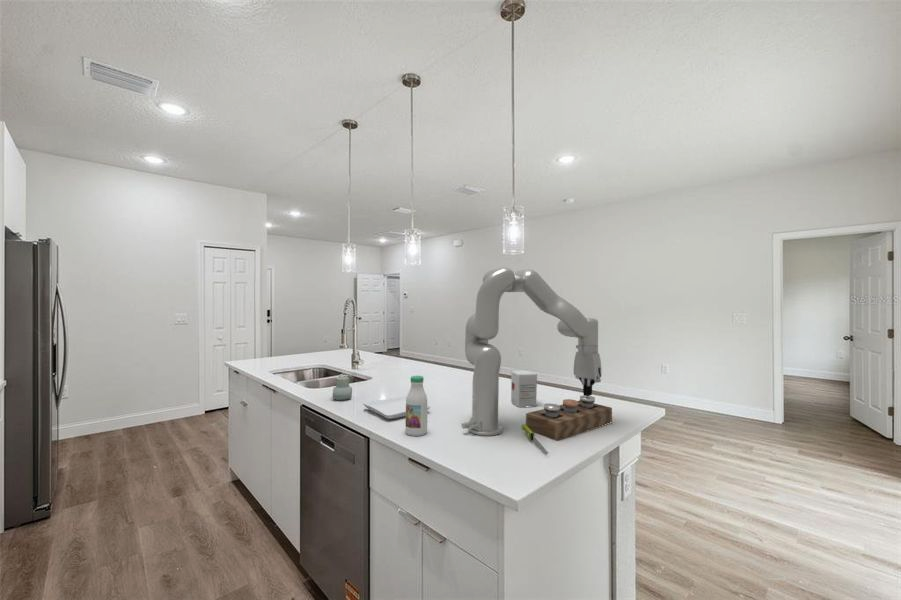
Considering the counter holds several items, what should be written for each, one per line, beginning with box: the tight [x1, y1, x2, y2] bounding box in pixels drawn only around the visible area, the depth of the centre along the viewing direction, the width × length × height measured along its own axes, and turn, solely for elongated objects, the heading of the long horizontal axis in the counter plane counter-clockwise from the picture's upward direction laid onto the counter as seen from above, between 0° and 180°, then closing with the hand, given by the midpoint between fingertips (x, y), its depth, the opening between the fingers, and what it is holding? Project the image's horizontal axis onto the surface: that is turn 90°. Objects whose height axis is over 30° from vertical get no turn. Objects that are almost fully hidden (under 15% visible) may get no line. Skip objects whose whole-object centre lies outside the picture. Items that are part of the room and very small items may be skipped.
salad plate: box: [363, 396, 431, 420], centre depth 162 cm, size 21×21×3 cm
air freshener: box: [332, 376, 353, 401], centre depth 182 cm, size 11×8×10 cm
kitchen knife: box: [521, 423, 549, 456], centre depth 127 cm, size 22×1×3 cm, turn 9°
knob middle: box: [562, 399, 579, 414], centre depth 146 cm, size 6×6×6 cm
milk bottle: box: [405, 375, 428, 437], centre depth 137 cm, size 8×8×20 cm
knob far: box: [579, 395, 596, 409], centre depth 153 cm, size 6×6×6 cm
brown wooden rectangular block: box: [525, 399, 613, 442], centre depth 146 cm, size 34×14×6 cm, turn 127°
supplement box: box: [510, 370, 538, 408], centre depth 176 cm, size 9×9×15 cm
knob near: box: [543, 403, 560, 419], centre depth 140 cm, size 6×6×6 cm
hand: (587, 395), depth 153 cm, fingers closed
